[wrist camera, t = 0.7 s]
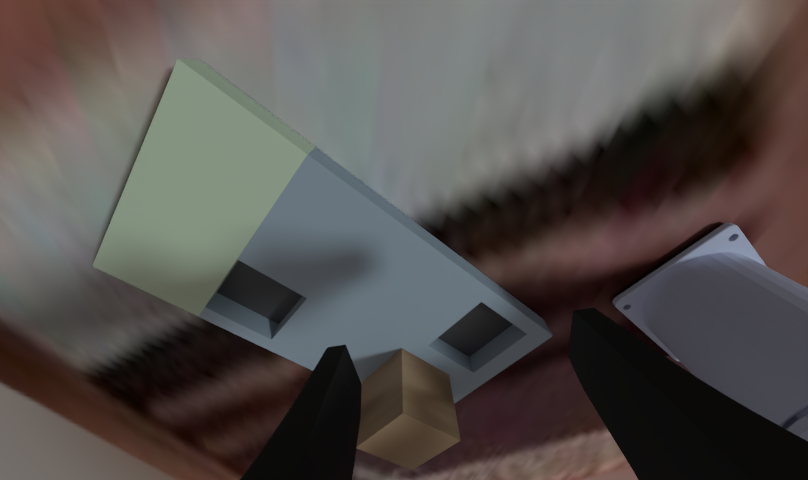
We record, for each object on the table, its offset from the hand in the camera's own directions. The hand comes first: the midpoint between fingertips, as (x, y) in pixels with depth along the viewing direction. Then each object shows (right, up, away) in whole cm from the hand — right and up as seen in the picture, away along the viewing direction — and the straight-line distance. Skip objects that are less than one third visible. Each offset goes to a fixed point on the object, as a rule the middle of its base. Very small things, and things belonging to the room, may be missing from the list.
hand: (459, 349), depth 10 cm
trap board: (-5, 0, +10) cm, 12 cm away
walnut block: (-2, -7, +12) cm, 14 cm away
